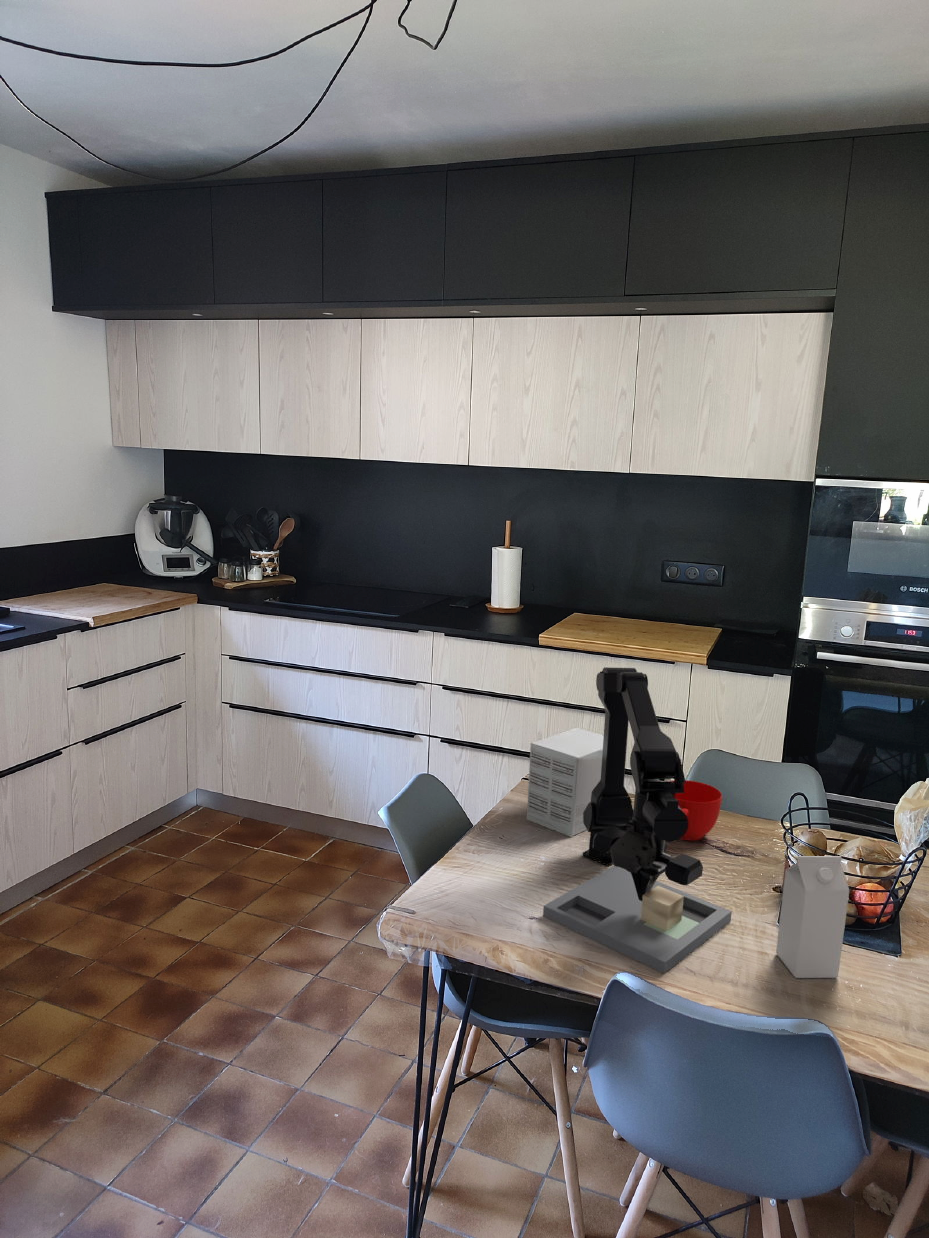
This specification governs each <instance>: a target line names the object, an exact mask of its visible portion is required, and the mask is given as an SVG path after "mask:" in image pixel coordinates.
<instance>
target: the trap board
mask: <svg viewBox="0 0 929 1238" xmlns="http://www.w3.org/2000/svg"><path fill="white" fill-rule="evenodd" d="M657 886H660V887H663V888H665V889H667V890H670V891H672V892H675V893H677V894H680V895H682V896H684V899H683V910H682V920H681V921H680V922H679V923H677V924H676V925H674V926H673V927H671V928H670V929H669V930H667V931H666V930H663V929H661V928H659V927H656V926H654V925H652V924H650V923H647V922H645V921H643V920H641V911H642V901H640V900H639V899H638V895H637V892H636V888H635V884H634V881H633V878H632V875H631V872H628V871H627V870H625V869H623V868H621V867H616V866H614V865H612V867H610V868H608V869H606V870H604V871H602V872H601V873H599V874H598V875H595V876H594V877H592V878H590V879H589V880H586V881H585V882H583V883H581V884H580V885H578V886H576V887H575V888H572V889H571V890H568V891H567V892H565V893H563V894H562V895H560V896H558V897H557V898H555V899H552V900H551V901H550V902H547V903H546V904H544V905H543V912H542V916H543V918H546V919H548V920H550V921H552V922H555V923H557V924H559V925H561V926H562V927H565V928H567V929H569V930H571V931H574V932H576V933H578V934H580V935H582V936H584V937H586V938H588V939H589V940H592V941H594V942H596V943H599V944H600V945H603V946H605V947H607V948H608V949H609V948H610V949H611V950H613V951H615V952H617V953H620V954H622V955H623V956H625V957H628V958H630V959H632V960H634V961H637V963H641V964H642V965H645V966H646V967H648V968H651V969H653V970H655V971H656V972H657V971H658V972H659V973H661V974H666V973H667V972H669V970H671V969H672V968H673V967H675V966H676V965H678V964H679V963H680V962H682V960H684V959H685V958H686V957H687V956H689V955H690V954H691V953H693V952H694V951H695V950H697V949H698V948H699V947H700V946H701V945H703V944H704V943H706V942H707V941H708V940H709V939H711V938H712V937H713V936H714V935H716V934H717V933H719V931H721V930H722V929H723V928H725V927H726V926H727V925H728V924H729V923H730V922H731V920H732V913H733V912H732V910H731V909H727V908H725V907H724V906H723V907H722V906H720V905H717V904H715V903H713V902H710V901H707V900H705V899H704V898H703V899H702V898H699V897H698V896H695V895H693V894H690V893H687V892H685V891H683V890H680V889H677V888H675V887H672V886H669V885H668V884H665V883H663V882H659V881H657V880H656V882H655V883H654V885H653V887H652V888H651V890H652V889H654V888H655V887H657Z"/></svg>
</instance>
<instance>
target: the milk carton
mask: <svg viewBox="0 0 929 1238" xmlns="http://www.w3.org/2000/svg"><path fill="white" fill-rule="evenodd" d="M841 862H842V856H841V855H839V856H838V855H835V856H834V855H832V856H831V855H827V856H826V855H824V856H819V855H817V856H798V859H797V863H796V864H794V865H792V866H791V867H789V868H788V869H786V871H785V880H784V888H783V892H782V896H781V897H782V898H781V899H782V900H781V907H780V916H779V924H778V932H777V939H776V940H777V941H776V947H775V948H776V950H775V954H776V955H777V956H778V957H779V959H780V960H781V961H782V962H783V963H784V965H785V966H786V968H787V969H788V970H789V971H790V973H791V974H792V976H793V977H794V978H795V979H826V978H827V979H828V978H829V979H830V978H831V979H834V978H838V977H839V974H840V973H839V971H840V964H841V957H842V949H843V942H844V934H845V926H846V920H847V919H846V918H847V911H848V904H849V896H850V895H849V894H850V888H849V885H848V881H847V879H846V876H845V872H844V868H843V866H842V863H841Z"/></svg>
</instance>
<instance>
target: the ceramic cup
mask: <svg viewBox="0 0 929 1238" xmlns="http://www.w3.org/2000/svg"><path fill="white" fill-rule="evenodd" d="M685 781H686V782H685V784H684V793H675V798H676V799H677V800H678V806H679V807H680V808H681V809H682V810H683V812H684V813H685V814H686V816H687V818H688V822H689V826H688V830H687V831H686V833H685V834H684V836H683V837H681V838H680V839H681V840H685V841H689V842H690V841H694V842H695V841H700V840H702V839H703V837H706V835H707V834H708V833H709V832H710V831H711V830H712V829H713V827H715V825H716V823H717V821H718V818H719V815H720V812H721V806H722V802H723V801H722V800H723V795H722V792H721V791H720V790H719V789H718V788H716V787H714V786H712V785H710V784H707V783H703V782H699V781H693V780H687V779H685ZM668 782H675V781H674V780H669V781H668ZM680 839H679V840H680Z"/></svg>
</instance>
